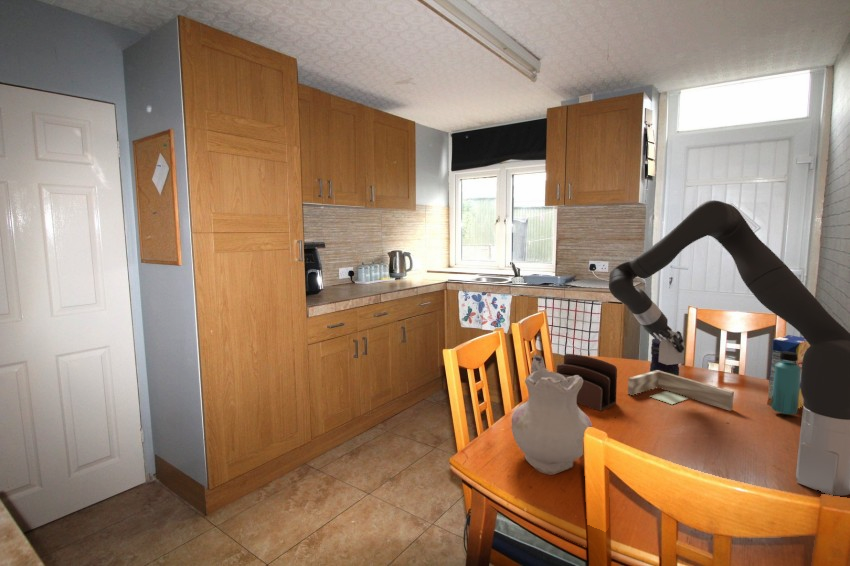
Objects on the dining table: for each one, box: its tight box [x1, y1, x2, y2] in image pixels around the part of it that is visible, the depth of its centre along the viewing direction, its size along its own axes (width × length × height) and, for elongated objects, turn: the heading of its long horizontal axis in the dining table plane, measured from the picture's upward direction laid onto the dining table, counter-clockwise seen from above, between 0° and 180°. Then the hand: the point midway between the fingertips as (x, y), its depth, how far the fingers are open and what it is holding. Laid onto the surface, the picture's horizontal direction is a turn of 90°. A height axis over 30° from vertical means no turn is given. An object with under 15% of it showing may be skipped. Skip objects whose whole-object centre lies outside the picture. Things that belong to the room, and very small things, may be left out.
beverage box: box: [766, 334, 810, 409], centre depth 141 cm, size 7×11×22 cm, turn 120°
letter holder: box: [556, 353, 618, 412], centre depth 147 cm, size 10×20×14 cm, turn 39°
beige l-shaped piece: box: [627, 370, 735, 412], centre depth 145 cm, size 17×25×6 cm, turn 30°
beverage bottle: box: [770, 351, 801, 415], centre depth 133 cm, size 6×7×20 cm
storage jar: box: [649, 338, 680, 376], centre depth 166 cm, size 10×10×15 cm
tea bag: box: [658, 333, 686, 365], centre depth 146 cm, size 4×7×10 cm, turn 105°
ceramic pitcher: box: [511, 353, 593, 476], centre depth 108 cm, size 22×20×25 cm
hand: (676, 348), depth 146 cm, fingers closed on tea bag, 3 cm apart
